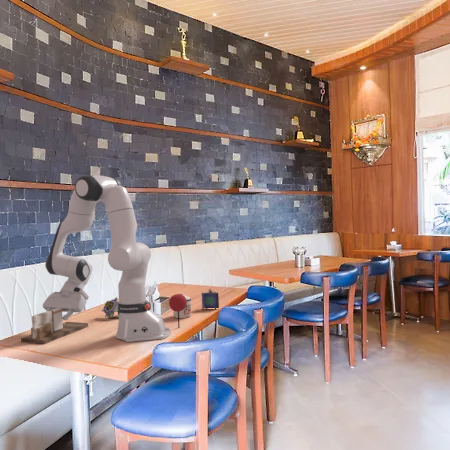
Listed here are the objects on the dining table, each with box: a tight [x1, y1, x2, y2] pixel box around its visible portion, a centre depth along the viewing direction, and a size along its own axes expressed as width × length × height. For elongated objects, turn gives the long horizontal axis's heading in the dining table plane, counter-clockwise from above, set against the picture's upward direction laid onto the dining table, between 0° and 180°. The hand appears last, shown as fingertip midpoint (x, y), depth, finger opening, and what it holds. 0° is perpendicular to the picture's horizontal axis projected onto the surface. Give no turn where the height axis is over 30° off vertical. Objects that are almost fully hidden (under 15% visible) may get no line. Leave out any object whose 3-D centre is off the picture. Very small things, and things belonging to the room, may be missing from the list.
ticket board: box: [20, 310, 89, 345], centre depth 176 cm, size 27×12×11 cm, turn 160°
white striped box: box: [52, 308, 64, 331], centre depth 176 cm, size 5×2×9 cm, turn 160°
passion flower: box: [101, 296, 119, 320], centre depth 203 cm, size 11×11×12 cm
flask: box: [201, 288, 220, 309], centre depth 214 cm, size 9×3×11 cm, turn 79°
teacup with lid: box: [173, 292, 192, 319], centre depth 201 cm, size 12×9×12 cm
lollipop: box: [168, 293, 187, 328], centre depth 179 cm, size 8×8×15 cm
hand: (55, 318), depth 176 cm, fingers open, 8 cm apart
